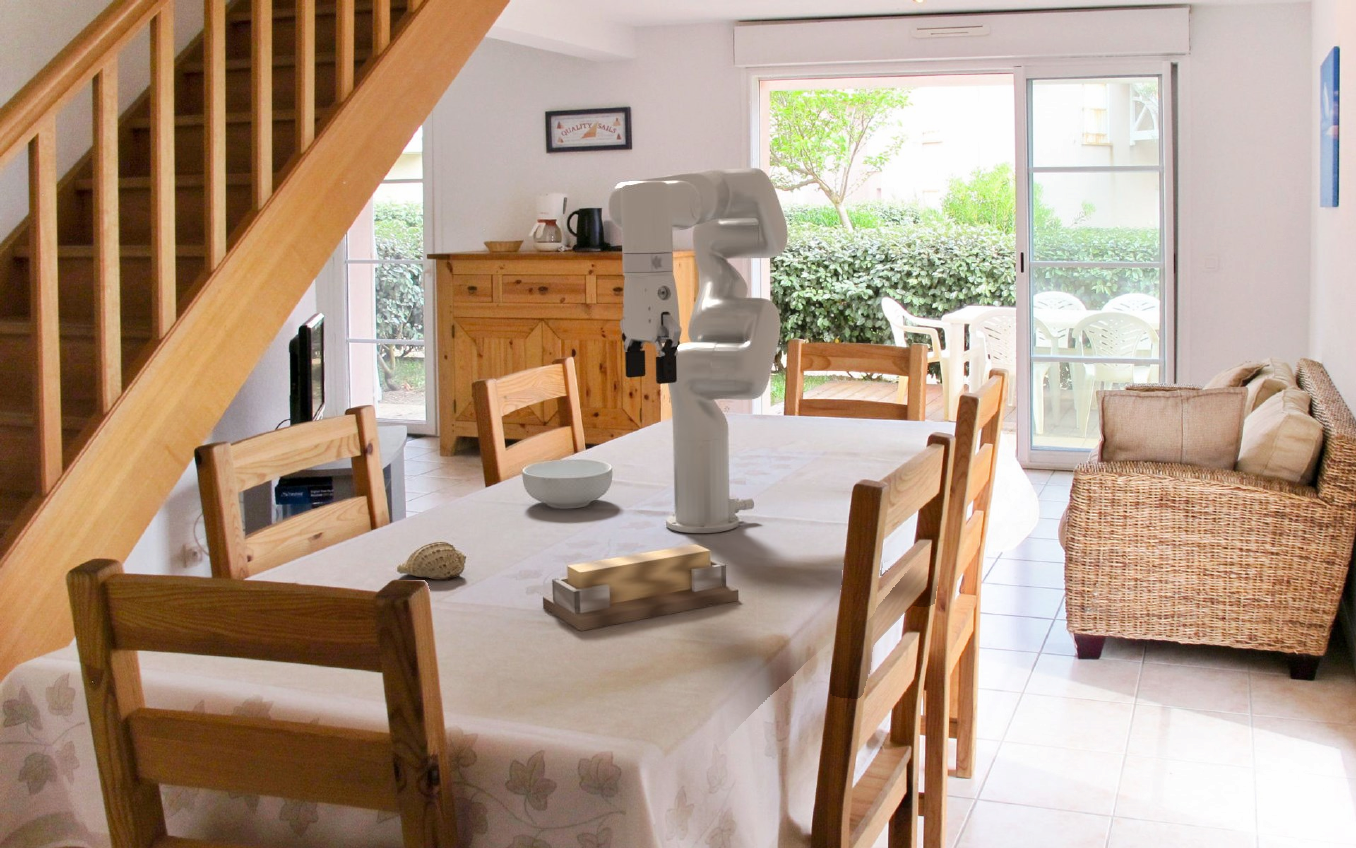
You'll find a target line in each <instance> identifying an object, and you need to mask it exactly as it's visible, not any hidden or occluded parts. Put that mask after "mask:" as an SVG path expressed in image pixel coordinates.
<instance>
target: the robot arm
mask: <svg viewBox="0 0 1356 848" xmlns="http://www.w3.org/2000/svg"><path fill="white" fill-rule="evenodd" d="M780 203H781V202H780V199H779V197H778V194H777V191H776V189H775V186H774V184H773V182H772V181H771V179H770V176H768V174H767V173H766V172H765V171H764V170H762V169H761V168H757V167H741V168H740V167H739V168H714V169H713V168H712V169H703V170H699V171H694V172H693V171H692V172H687V173H686V172H685V173H677V174H671V175H664V176H660V177H651V178H645V179H635V180H627V181H623V182H620V183H618V184H617V185H615V186H614V188H613V189H612V191H611V193H610V196H609V199H608V214H609V217H610V220H611V222H612V223H613V225H614V226H615V227H616V228H617V229H619V230H620V231H621V247H622V249H621V250H622V252H621V253H622V254H621V255H622V276H623V277H624V281H623V282H624V285H623V301H622V302H623V303H622V309H623V310H622V319H620V321H619V326H620V331H621V340H622V341H623V345H622V346H623V351H624V363H625V365H624V366H625V367H624V368H625V377H627V378H641V377H642V378H643V377H645V376H646V375H647V374H646V350H645V349H643V348H644V346H645V343H648V344H651V343H652V344H653V345H654V348H655V350H656V353H657V355H658V356H655V381H656V384H659V385H663V384H667V386H668V387H667V388H668V391H669V397H670V398H669V399H670V405H671V416H672V450H673V451H672V453H673V455H672V456H673V497H674V498H673V499H674V507H673V508H674V514H672V515H669V516H668V517H666V519H665V526H666V527H667V528H668V529H669V530H672V531H675V532H679V533H689V534H711V533H712V534H713V533H714V534H715V533H722V532H726V531H730V530H734V529H735V528H737V527H738V526H739V524H740V519H739V517H738V516H737V515H736V514H738V513H739V512H740V511H747V510H748V511H749V510H753V509H754V507H755V502H754V500H753V498H751V497H750V498H749V497H748V498H743V499H739V498H738V497H737V498H734V497H731V496H730V458H729V457H730V452H729V451H730V448H729V446H730V444H729V436H730V434H729V433H730V432H729V429H730V428H729V424H728V419H727V418H726V416H725V413H724V412H723V411H722V409H721V408H720V407H719V405H718V404H717V401H715V400H733V401H734V400H739V401H740V400H741V401H743V400H744V401H745V400H750V401H751V400H756V399H759V398H760V397H761V396H763V394H764V393H765V392H766V391H767V387H768V385H769V381H770V377H771V373H772V369H773V365H774V362H775V357H776V353H777V351H778V350H777V349H778V345H779V341H780V335H781V319H780V318H781V317H780V312H779V310H778V307H777V306H776V304H774V302H772V300H769V299H767V298H764V297H763V298H762V297H748V284H747V282H746V280H745V278H744V277H743V276H742V274H741V273H740V272H739V270H737V268H736V267H735V266H733V265H732V263H730V262H729V261H728V259H771V258H776V257H778V256H780V255H782V254H783V252H784V251H785V249H786V247H787V243H788V238H789V237H788V236H789V232H788V225H787V221H786V217H785V215H784V212H783V209H782V206H781V204H780ZM692 227H693V229H692V244H693V245H692V247H693V253H694V258H695V263H696V266H697V271H698V275H699V279H700V285H699V290H698V293H697V296H696V297H695V298H696V299H695V303H694V305H693V308H692V311H691V315H690V319H689V321H688V329H687V335H688V336H687V337H688V339H689V341H690V342H685V343H682V344H681V342H680V338H681V335H682V330H683V329H682V327H681V324H680V322H681V321H680V308H679V307H680V306H679V298H678V290H677V285H676V279H675V275H674V252H673V251H674V250H673V247H674V245H673V242H674V241H673V231H684V230H685V231H686V230H688V229H691V228H692Z"/></svg>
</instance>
